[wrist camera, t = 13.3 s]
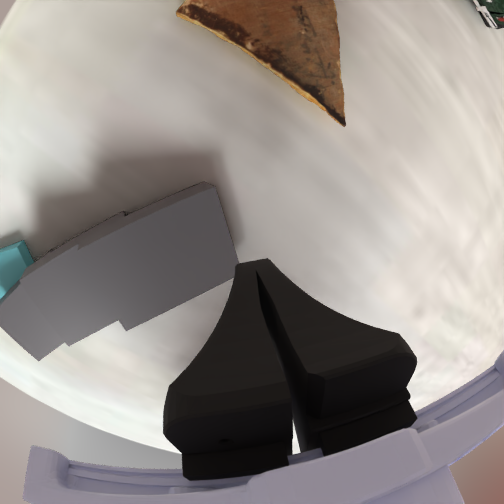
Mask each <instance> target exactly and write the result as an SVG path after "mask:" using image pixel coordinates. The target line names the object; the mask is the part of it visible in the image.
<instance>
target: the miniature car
mask: <svg viewBox="0 0 504 504" xmlns="http://www.w3.org/2000/svg"><path fill="white" fill-rule="evenodd" d="M473 1H474V3H475V4H476V6H477V7H476V9H477V11H481V16H482V18H483V20H484V22H485V24H486V26H487V27H491V28H495V29H500V28H504V0H473Z"/></svg>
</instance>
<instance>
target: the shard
mask: <svg viewBox="0 0 504 504" xmlns="http://www.w3.org/2000/svg"><path fill="white" fill-rule="evenodd" d="M176 15H177V17H180V18H182V19H184V20H187V21H190V22H192V23H194V24H196V25H199V26H201V27H204V28H206V29H207V30H209V31H211V32H212V33H214V34H215V35H216V36H217V37H219V38H221V39H223V40H225V41H227V42H229V43H231V44H234V45H236V46H238V47H239V48H241V49H242V50H243V51H244V52H246V53H247V54H249V55H250V56H252V57H253V58H255V59H256V60H257V61H258V62H259V63H261V64H262V65H263V66H265V67H266V68H268V69H270V70H271V71H272V72H273V73H274V74H275V75H278V76H279V77H280V78H281V79H282V80H283V81H285V82H287V83H288V84H289V85H290V86H291V87H292V88H293V89H295V90H296V91H297V93H299V94H301V95H302V96H303V97H305V98H306V99H308V100H309V101H311V102H313V103H315V104H316V105H318V106H319V107H320V108H321V109H322V110H324V111H326V112H327V113H328V115H329V116H331V117H332V118H333V119H334V120H335V121H336V122H337V123H339V124H340V125H342V126H343V127H345V126H346V122H345V113H344V92H343V86H342V81H341V71H340V52H339V48H340V37H339V31H338V26H337V12H336V7H335V3H334V1H333V0H185V1H184V3H183V4H182V5H181V6H180V7H179V9H178V10H177V11H176Z"/></svg>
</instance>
